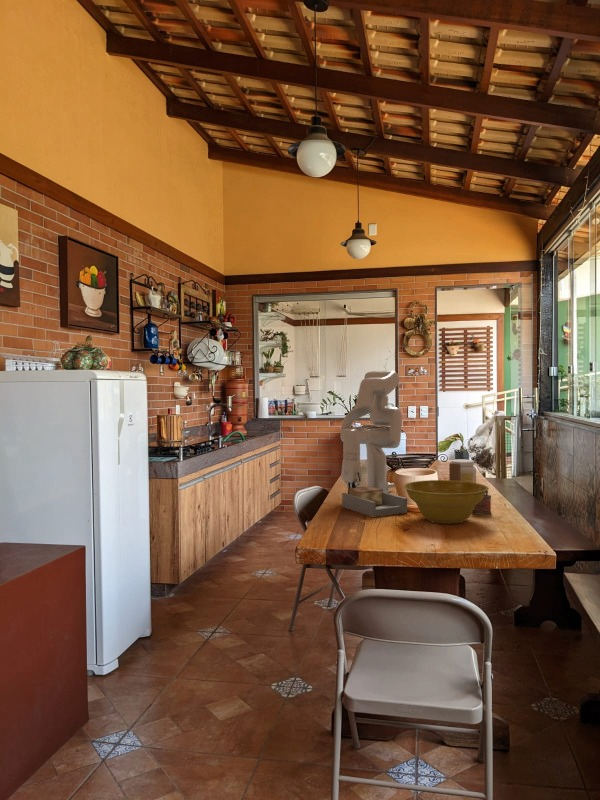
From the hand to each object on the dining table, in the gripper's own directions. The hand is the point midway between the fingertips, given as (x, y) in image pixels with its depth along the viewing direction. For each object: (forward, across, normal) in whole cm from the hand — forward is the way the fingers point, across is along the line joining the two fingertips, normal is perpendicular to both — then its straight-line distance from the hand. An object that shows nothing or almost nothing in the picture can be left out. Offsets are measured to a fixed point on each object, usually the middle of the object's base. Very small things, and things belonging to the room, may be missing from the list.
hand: (351, 497), depth 256 cm
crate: (+1, +11, 0) cm, 11 cm away
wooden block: (+3, +26, +40) cm, 48 cm away
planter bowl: (+3, +46, +13) cm, 48 cm away
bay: (+3, +16, 0) cm, 16 cm away
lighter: (+3, +44, +34) cm, 56 cm away
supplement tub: (+3, +13, +54) cm, 56 cm away
